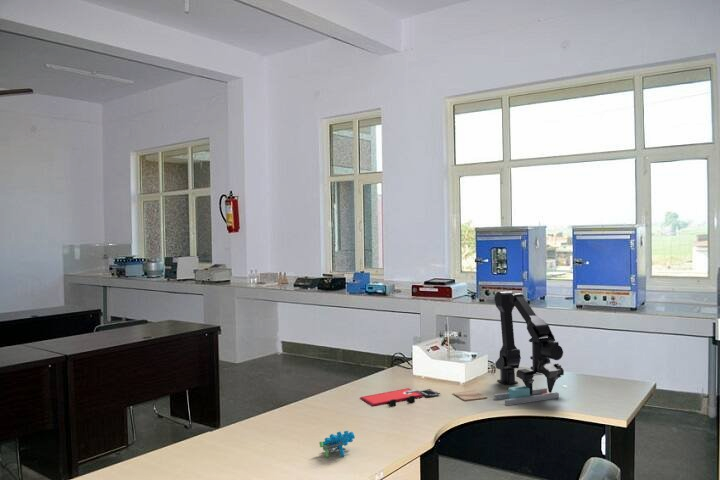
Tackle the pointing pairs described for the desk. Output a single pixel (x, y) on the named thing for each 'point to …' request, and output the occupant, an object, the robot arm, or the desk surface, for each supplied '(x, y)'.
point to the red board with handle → (397, 396)
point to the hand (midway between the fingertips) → (540, 393)
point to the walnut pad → (469, 395)
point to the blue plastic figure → (337, 441)
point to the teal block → (518, 392)
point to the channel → (542, 391)
